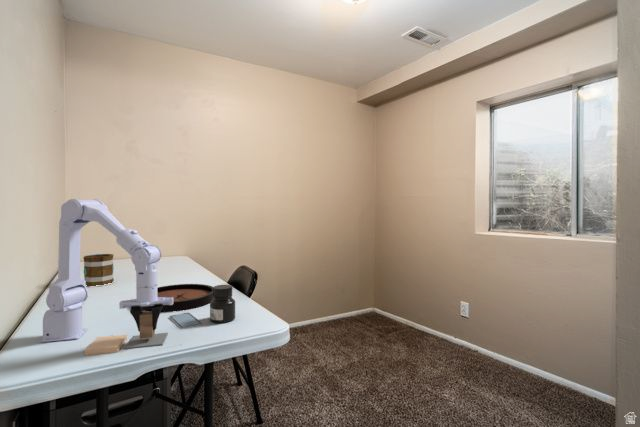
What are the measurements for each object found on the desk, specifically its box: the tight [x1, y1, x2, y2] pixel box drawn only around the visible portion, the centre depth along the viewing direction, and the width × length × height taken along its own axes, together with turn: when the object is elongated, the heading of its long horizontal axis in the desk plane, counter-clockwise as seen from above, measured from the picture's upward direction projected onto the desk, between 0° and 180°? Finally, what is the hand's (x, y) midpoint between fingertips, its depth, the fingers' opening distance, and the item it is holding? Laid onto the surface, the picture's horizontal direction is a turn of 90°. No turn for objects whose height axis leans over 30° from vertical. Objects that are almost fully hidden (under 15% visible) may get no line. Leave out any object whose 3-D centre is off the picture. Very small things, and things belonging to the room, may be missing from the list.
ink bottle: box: [209, 284, 236, 324], centre depth 120 cm, size 10×9×12 cm
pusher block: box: [139, 311, 156, 339], centre depth 100 cm, size 3×3×7 cm
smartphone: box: [169, 312, 203, 330], centre depth 119 cm, size 7×1×15 cm
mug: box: [83, 253, 115, 287], centre depth 176 cm, size 20×14×15 cm
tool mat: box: [124, 332, 169, 350], centre depth 101 cm, size 10×9×1 cm
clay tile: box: [84, 334, 128, 356], centre depth 96 cm, size 8×2×9 cm
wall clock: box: [143, 283, 214, 313], centre depth 144 cm, size 31×4×31 cm
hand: (147, 329), depth 101 cm, fingers closed on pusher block, 3 cm apart
